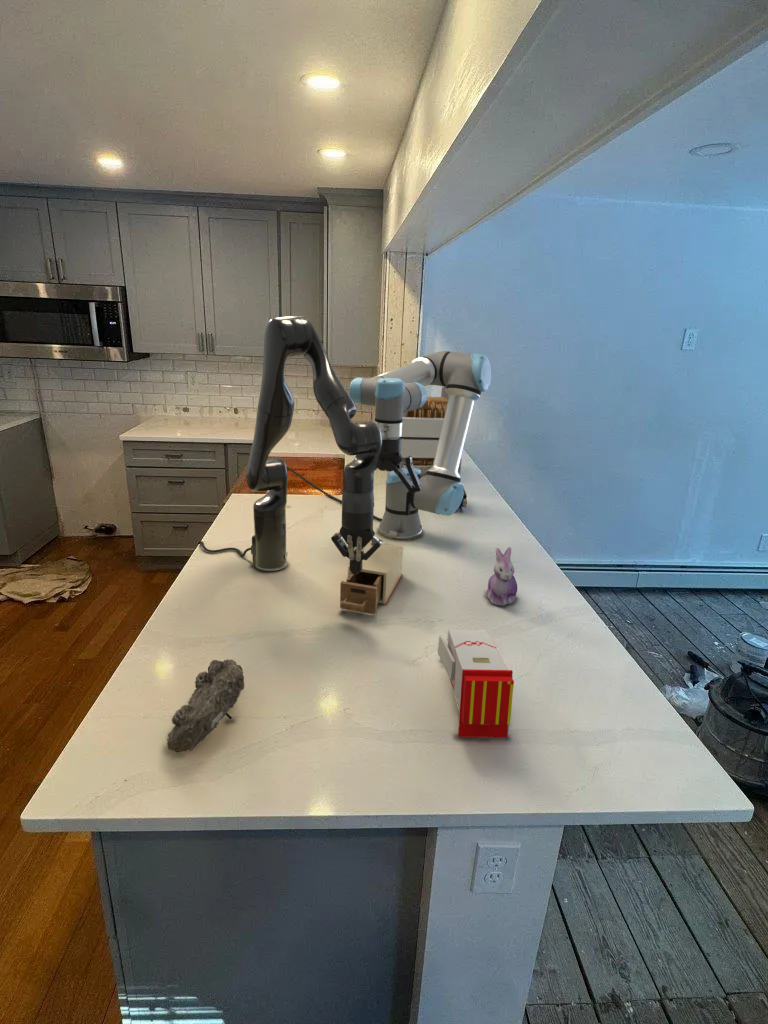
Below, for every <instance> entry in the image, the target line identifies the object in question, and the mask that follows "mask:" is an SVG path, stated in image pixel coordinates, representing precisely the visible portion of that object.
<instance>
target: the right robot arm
mask: <svg viewBox="0 0 768 1024" xmlns="http://www.w3.org/2000/svg"><path fill="white" fill-rule="evenodd" d="M491 380H492V368H491V362H490V360H489V358H488V357H487V356H486V355H485V354H481V353H480V354H479V353H475V352H461V351H460V352H459V351H448V350H442V351H435V352H431V353H427V354H424V355H421V356H419V357H416V358H414V359H413V360H412V361H411V362H410V363H409V364H406V365H403V366H400V367H396V368H395V369H392V370H389V371H386V372H384V373H381V374H378V375H375V376H372V377H368V378H367V377H355V378H353V379H352V380H351V382H350V384H349V387H348V394H349V396H350V397H351V399H352V400H353V402H354V403H355V404H359V405H362V406H371V407H374V421H373V423H375V424H376V425H377V426H378V427H379V429H380V431H381V434H382V446H381V450H380V454H379V457H378V461H377V465H376V467H375V470H374V472H375V471H376V470H377V469H378V470H379V471H381V472H383V471H384V472H385V471H386V472H387V475H386V480H385V504H384V505H385V507H384V508H385V509H384V513H383V515H382V517H381V518H380V517H378V516H376V515H374V514H373V520H374V519H375V520H377V521H379V525H378V533H379V534H380V535H381V536H382V537H385V538H387V539H389V540H395V541H410V540H415V539H418V538H420V537H421V536H422V535H423V525H422V524H421V518H420V515H419V510H420V511H423V512H427V513H432V514H435V515H438V516H439V515H441V516H445V517H448V516H449V517H450V516H452V515H453V514H455V513H456V512H457V511H458V508H459V506H460V504H461V502H462V499H463V496H464V490H465V486H464V484H463V483H462V482H461V480H462V477H461V474H460V475H459V474H458V468H459V464H460V460H461V458H462V455H463V450H464V447H465V443H466V438H467V434H468V429H469V425H470V422H471V417H472V413H473V408H474V405H475V402H476V401H477V400H479V399H480V398H481V395H482V393H484V392H487V391H488V390H489V387H490V386H491ZM428 386H439V387H446V392H447V394H448V395H449V398H448V403H447V407H446V411H445V415H444V420H443V424H442V428H441V432H440V437H439V441H438V445H437V449H436V454H435V458H434V462H433V466H432V465H431V466H430V468H428V469H427V470H426V473H425V475H423V474H422V470H421V468H419V467H415V466H413V464H412V456H408V457H402V456H401V438H400V437H401V436H402V419H403V412H406V411H411V410H416V409H418V408H420V407H422V406H423V405H424V404H425V402H426V399H427V397H428V393H427V390H426V388H425V387H428ZM401 461H403V462H404V464H405V465H404V466H406V467H404V468H401V466H400V465H399V464H400V462H401ZM286 467H287V471H290V472H291V473H292V474H294V475H296V476H297V477H299V478H300V479H301V480H303V481H304V482H306V483H307V484H309V485H310V486H311V487H313V488H314V489H315V490H317V491H319V492H320V493H322V494H323V495H325V496H327V497H329V498H331V499H332V500H334V501H336V502H338V503H340V504H342V499H340V498H337V497H335V496H334V495H332V494H330V493H327V492H326V491H324V490H323V489H321V488H320V487H318V486H317V485H315V484H314V483H312V482H311V481H310V480H308V479H306V478H305V477H304V476H303V475H301V474H300V473H298V472H296V471H295V470H294V469H292V468H290V467H288V466H286ZM459 509H460V508H459Z"/></svg>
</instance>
